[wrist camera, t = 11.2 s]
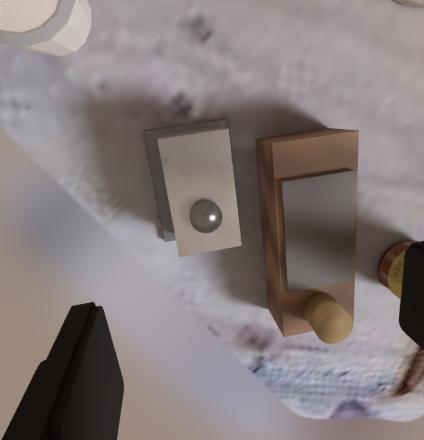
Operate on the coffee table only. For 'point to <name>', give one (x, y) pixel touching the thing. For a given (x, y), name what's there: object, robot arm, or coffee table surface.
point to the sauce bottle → (394, 267)
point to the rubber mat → (157, 170)
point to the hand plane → (310, 229)
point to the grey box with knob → (201, 189)
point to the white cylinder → (45, 25)
